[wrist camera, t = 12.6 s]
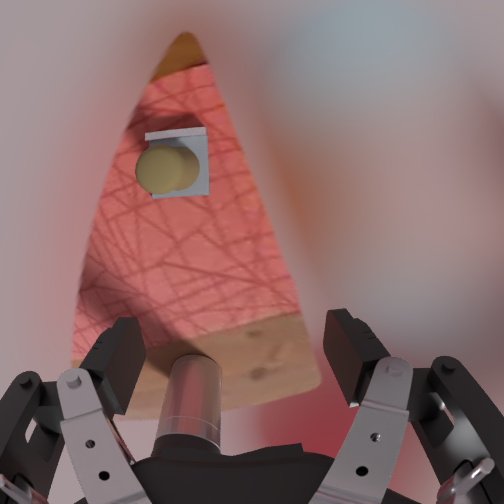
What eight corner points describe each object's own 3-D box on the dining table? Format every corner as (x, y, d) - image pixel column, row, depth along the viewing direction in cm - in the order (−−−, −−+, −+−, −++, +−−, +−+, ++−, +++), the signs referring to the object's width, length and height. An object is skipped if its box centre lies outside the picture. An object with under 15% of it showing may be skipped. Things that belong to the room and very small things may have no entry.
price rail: (207, 136, 34) (205, 134, 32) (150, 142, 34) (145, 140, 31) (207, 129, 34) (205, 126, 31) (150, 135, 33) (145, 133, 31)
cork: (184, 199, 36) (164, 212, 25) (148, 176, 35) (116, 181, 24) (208, 161, 35) (198, 159, 24) (172, 138, 33) (147, 128, 23)
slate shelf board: (209, 194, 37) (209, 194, 36) (153, 198, 36) (152, 198, 36) (207, 136, 34) (207, 136, 34) (150, 142, 34) (149, 141, 33)
